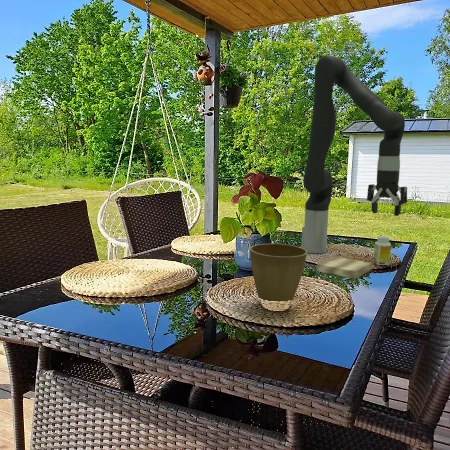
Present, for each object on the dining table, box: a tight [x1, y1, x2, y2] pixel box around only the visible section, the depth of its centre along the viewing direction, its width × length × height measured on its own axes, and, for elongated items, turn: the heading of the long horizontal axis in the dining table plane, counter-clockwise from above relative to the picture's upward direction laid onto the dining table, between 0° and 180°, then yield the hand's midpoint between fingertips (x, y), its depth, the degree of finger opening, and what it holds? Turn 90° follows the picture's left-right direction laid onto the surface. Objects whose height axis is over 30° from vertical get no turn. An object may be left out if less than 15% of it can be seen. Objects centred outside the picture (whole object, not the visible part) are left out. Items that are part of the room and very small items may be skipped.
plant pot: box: [249, 243, 308, 301], centre depth 122 cm, size 15×15×16 cm
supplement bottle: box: [373, 235, 392, 266], centre depth 168 cm, size 6×6×10 cm
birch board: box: [316, 256, 373, 280], centre depth 160 cm, size 14×14×2 cm
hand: (385, 214), depth 166 cm, fingers open, 8 cm apart
